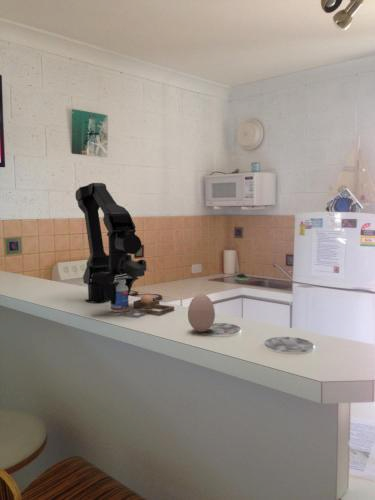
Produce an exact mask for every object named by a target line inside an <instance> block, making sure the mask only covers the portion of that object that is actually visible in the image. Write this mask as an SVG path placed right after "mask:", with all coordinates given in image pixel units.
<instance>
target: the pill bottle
mask: <svg viewBox="0 0 375 500" xmlns="http://www.w3.org/2000/svg"><path fill="white" fill-rule="evenodd" d="M116 282H119V284H118V285H117V287H116V301H115V304H112V303H111V302H110V311H111V312H114V313H123V312H126V311H129V307H130V306H129V296H128V287H127V286H126V285H125V284H126V279H125V278H120V277H119V278H116Z"/></svg>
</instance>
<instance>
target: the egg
mask: <svg viewBox="0 0 375 500" xmlns="http://www.w3.org/2000/svg"><path fill="white" fill-rule="evenodd" d="M215 311H216V310H215V306H214V304H213V302H212V300H211V299H210V297H209V296H207V294H204V293H198V294H196V295H195V296H193V298H192V299H191V301H190V303H189V306H188V310H187V319H188V322H189V324H190V326H191V328H192V329H193V330H195V331H196V332H199V333H204V332H206V331H208V330H210V328H211V327H212V326H213V325H214V322H215V317H216V312H215Z"/></svg>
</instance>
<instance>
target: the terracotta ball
mask: <svg viewBox="0 0 375 500" xmlns="http://www.w3.org/2000/svg"><path fill="white" fill-rule="evenodd" d="M153 299H154V298H152V296H151V295H148V294H144V295H142V296H141V298H140V299H139V300H140V302H144V303H150V302H153Z"/></svg>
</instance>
